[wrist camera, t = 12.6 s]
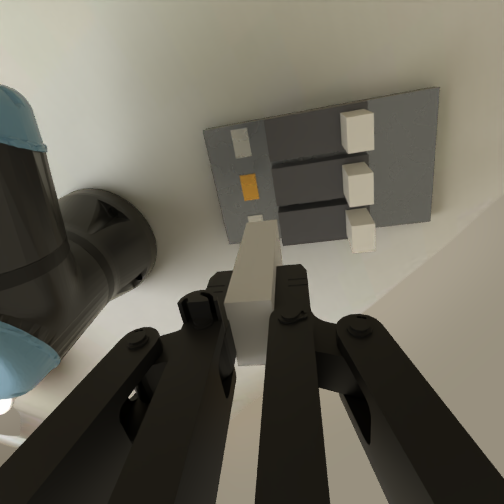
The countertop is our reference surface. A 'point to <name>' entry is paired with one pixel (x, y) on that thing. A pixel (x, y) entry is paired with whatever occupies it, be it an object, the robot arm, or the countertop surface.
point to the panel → (380, 159)
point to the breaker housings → (321, 173)
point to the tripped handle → (358, 184)
